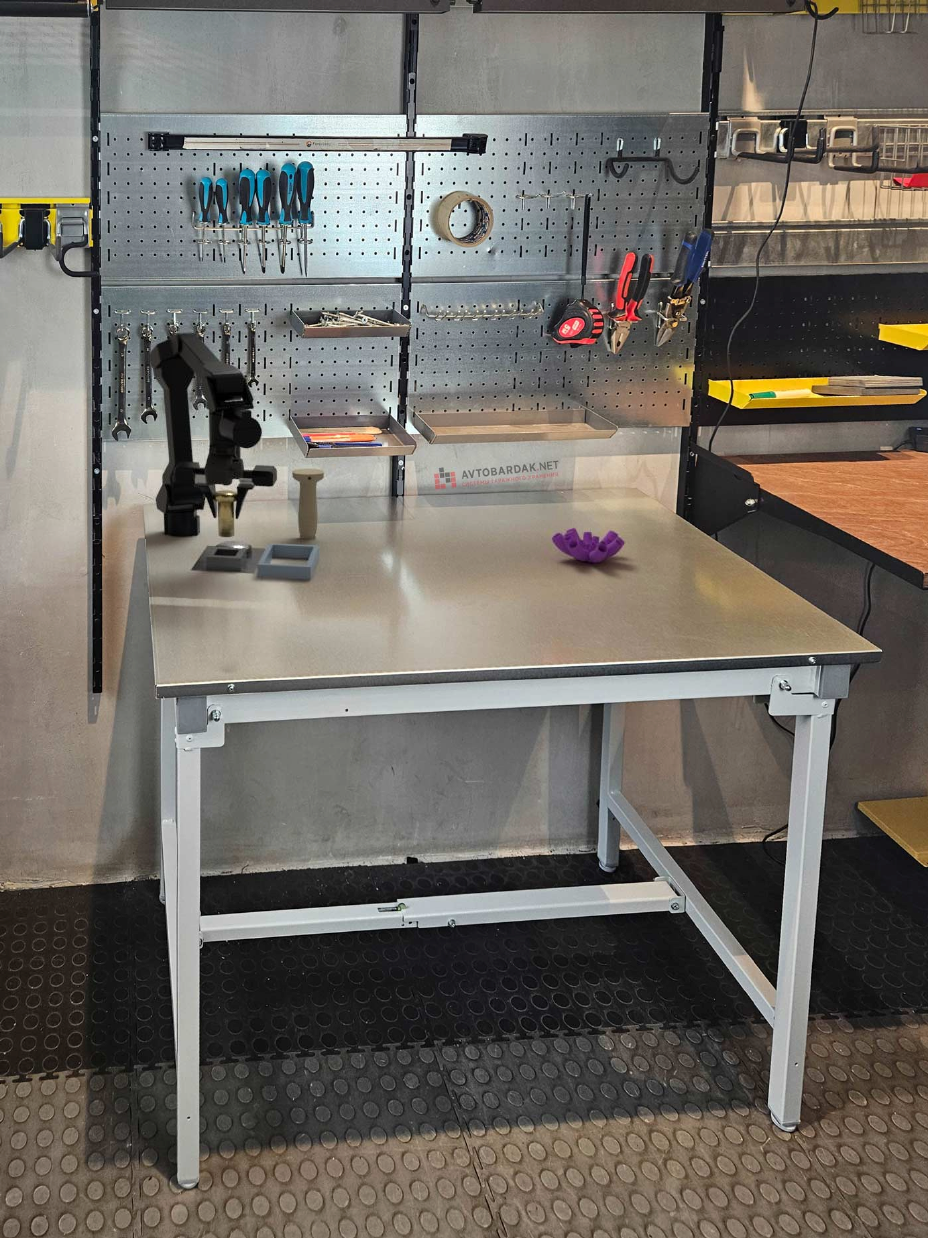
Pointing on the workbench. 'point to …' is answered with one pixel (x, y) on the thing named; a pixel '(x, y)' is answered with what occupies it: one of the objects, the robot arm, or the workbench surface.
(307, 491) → the handle
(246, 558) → the grey socket base
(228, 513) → the pin
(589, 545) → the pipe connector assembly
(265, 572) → the pin tray
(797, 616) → the workbench surface
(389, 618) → the workbench surface
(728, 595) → the workbench surface
